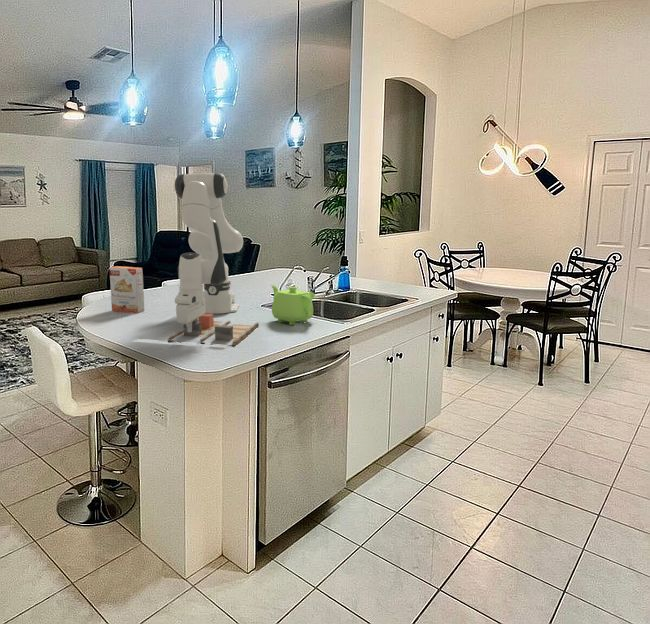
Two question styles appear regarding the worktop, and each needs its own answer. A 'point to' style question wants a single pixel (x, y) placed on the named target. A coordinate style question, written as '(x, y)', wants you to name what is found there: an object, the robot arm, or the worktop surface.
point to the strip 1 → (198, 329)
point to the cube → (206, 320)
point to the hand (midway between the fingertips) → (192, 330)
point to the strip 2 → (229, 332)
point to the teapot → (292, 305)
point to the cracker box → (127, 289)
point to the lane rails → (214, 333)
